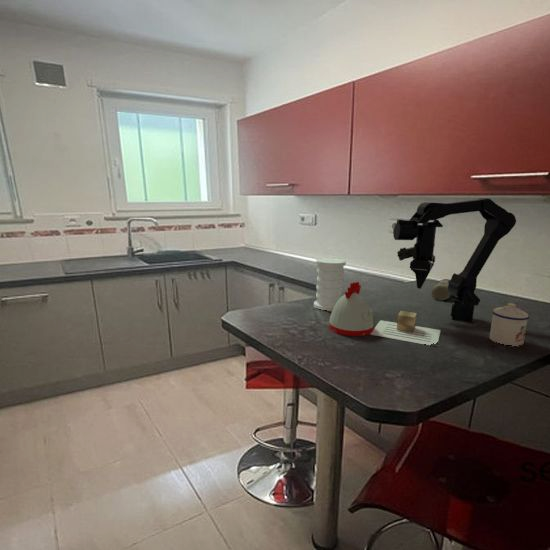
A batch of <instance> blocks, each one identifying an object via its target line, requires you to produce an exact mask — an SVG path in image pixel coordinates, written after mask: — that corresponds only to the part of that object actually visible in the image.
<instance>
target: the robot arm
mask: <svg viewBox="0 0 550 550" xmlns="http://www.w3.org/2000/svg"><path fill="white" fill-rule="evenodd" d="M472 212H473V213H475V212H479V214H480V215H481V218H483V219H484V220H485V222H484V230H483V231H484V232H483V236H482V237H481V239H480V241H479V243H478V244H477V246H476V248H475V250H474V251H473V252H472V254H471V256H470V257H469V259H468V261H467V263H466V265H465V266H464V269H463V270H462V271H461V272H460V273H458V274H457V273H453V274H452V275H451V278H450V279H449V280H450V281H449V282H448V284H449V285H448V291H449V293H450V297H451V299H452V300H454V301H453V303H452V305H451V312H450V317H451V320H454V321H457V322H458V321H459V322H465V323H466V322H467V323H473V322H474V311H475V307H477V306H479V304H480V301H481V299H480V298H479V297H478V296H477V295H476V293H475V291H476V288H477V279H478V276H479V274H480V272H481V271H482V269H483V268H484V266H485V264H486V262H487V261H488V259H489V257H491V254H492V253H493V251H494V249H495V248H496V246H497V244H498V243H499V241H500V240H501V239H503V238H504V237H505V236H506V235H508V234H510V232H511V231H512V229H514V227H515V225H516V223H517V219H516V216H515V214H514V213H512V212H510V211H509V212H508V210H506V209H505V208H503V207H502V206H501V205H499V204H497V203H496V202H494V200H492V199H491V198H478V199H471V200H462V201H455V202H453V201H452V202H447V203H445V202H428V201H426V202H425V201H424V202H421V203H419V205H418V206H417V209H416V211H415V213H414V214H413V215H412V216H411V218H410V219H396V223H395V225H394V227H393V231H392V233H393V239H394V240H395V241H413V240H415V239H416V240H415V241H416V242H415V243H414V244H413V245H414V246H412V247H407V248H406V247H402V248H400V249H399V250H398V251H397V252H396V253H397V257H398V260H399V261H403V260H406V259H410V258H412V260H411V261H410V262H409V269H410V270H411V271H412V272H413V273H414V275H415V281H416V287H417V289H420V290H421V289H422V287H423V286H424V283H425V282H426V279H427V278H428V276H429V274H430V272H431V271H432V269H433V267H434V265H435V262H436V256H435V255H434V249H435V246H436V242H435V241H436V232H437V228H444V225H443V224H442V223H441V222H440V219H443V218H445V217H446V216H450V215H457V214H465V213H472Z"/></svg>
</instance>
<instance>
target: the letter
mask: <svg viewBox="0 0 550 550" xmlns="http://www.w3.org/2000/svg"><path fill="white" fill-rule="evenodd" d="M441 330H442V329H436V328H430V327H424V326H419V325H418V326H417V325H415V329H414V332H413V333H412V332H406V331H400V330H397V322H393V321H387V320H383V319H382V320H379V321H378V323H377V324H376V326H375V327H373V332H372V333H370V334H369V335H371V336H375V337H381V338H382V337H383V338H386V339H387V338H388V339H392V340H397V341H403V342H408V343H413V344H414V343H415V344H418V345H419V344H420V345H424V344H426V346H430V345H431V344H433V343H434V344H436V343H437V342H438V343H439V340H440V339H439V338H440V335H441Z"/></svg>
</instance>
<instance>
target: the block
mask: <svg viewBox="0 0 550 550" xmlns="http://www.w3.org/2000/svg"><path fill="white" fill-rule="evenodd" d="M417 316H418V314H417V312H410V311H406V310H405V311H404V310H400V311H399V313H398V314H397V318H396V319H397V322H396V323H397V330H400V331H406V332H412V333H413V332H414V329H415V326H417V325H416V324H417Z"/></svg>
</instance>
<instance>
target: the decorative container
mask: <svg viewBox="0 0 550 550" xmlns="http://www.w3.org/2000/svg"><path fill="white" fill-rule="evenodd" d="M315 262H316V265H317V269H316V273H317V277H316V286H315V287H316V288H315V289H316V294H315V297H316V300H315V301H314V302H313V307H314V308H315V309H316V308H318V309H317V310H319V309H321V310H320V311H323V310H327V311H326V312H332V311H331V310H332V306H335V304H336V303H337V301H338V300H339V299H340V298H341V297H342V296H343V289H344V286H343V283H344V275H345V274H344V273H345V270H344V267H345V266H346V260H344V259H340V258H334V257H333V258H331V257H326V258H318V259H316V261H315Z"/></svg>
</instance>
